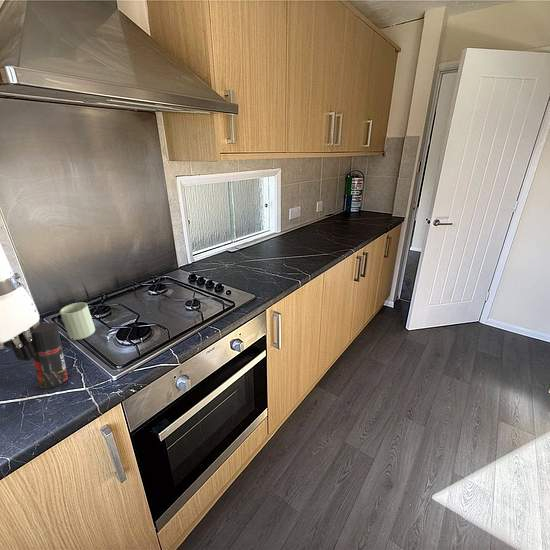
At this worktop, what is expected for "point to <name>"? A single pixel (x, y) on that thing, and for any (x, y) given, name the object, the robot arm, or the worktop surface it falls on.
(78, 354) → the worktop surface
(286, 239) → the worktop surface
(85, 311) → the cup
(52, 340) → the deodorant
